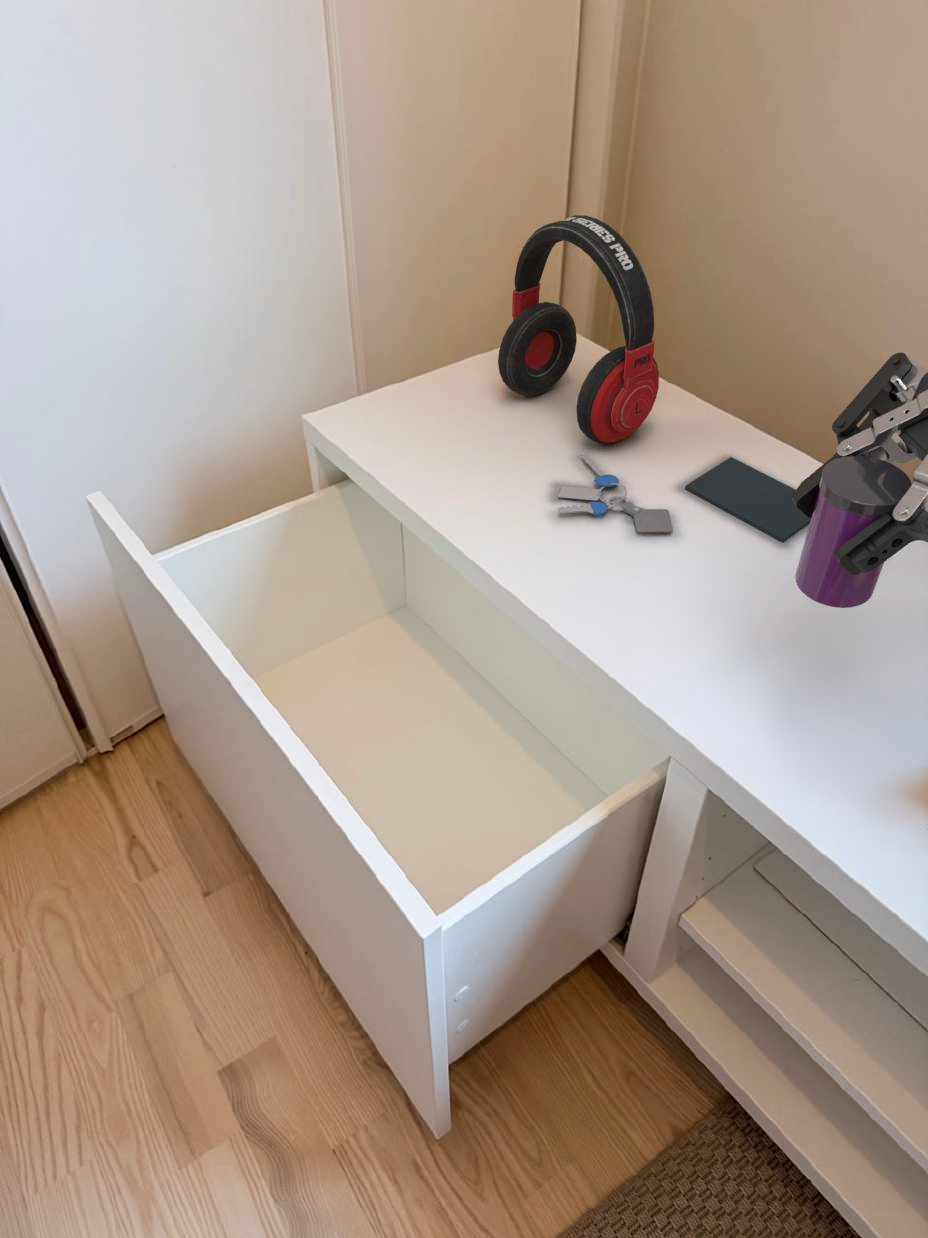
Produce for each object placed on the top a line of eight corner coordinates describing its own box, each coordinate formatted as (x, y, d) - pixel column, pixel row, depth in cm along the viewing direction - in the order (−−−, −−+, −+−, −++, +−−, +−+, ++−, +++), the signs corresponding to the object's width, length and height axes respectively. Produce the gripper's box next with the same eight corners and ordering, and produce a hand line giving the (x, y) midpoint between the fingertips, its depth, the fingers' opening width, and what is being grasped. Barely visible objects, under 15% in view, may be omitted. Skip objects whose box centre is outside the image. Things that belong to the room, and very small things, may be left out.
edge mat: (828, 509, 86) (829, 506, 86) (782, 542, 83) (783, 539, 82) (730, 459, 92) (731, 456, 92) (684, 488, 89) (685, 485, 88)
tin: (890, 584, 60) (929, 480, 54) (846, 620, 57) (882, 516, 52) (822, 548, 62) (852, 445, 57) (777, 581, 60) (804, 478, 55)
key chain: (686, 526, 84) (687, 519, 84) (618, 562, 81) (619, 555, 80) (583, 457, 93) (584, 450, 92) (518, 487, 89) (518, 480, 89)
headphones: (667, 433, 96) (697, 237, 82) (596, 469, 91) (614, 268, 77) (554, 367, 106) (563, 183, 92) (485, 396, 101) (483, 208, 88)
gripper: (977, 232, 53) (739, 441, 60) (1161, 351, 43) (848, 587, 49) (1026, 311, 57) (799, 497, 64) (1204, 436, 47) (910, 642, 54)
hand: (822, 535), depth 57 cm, fingers closed on tin, 5 cm apart
